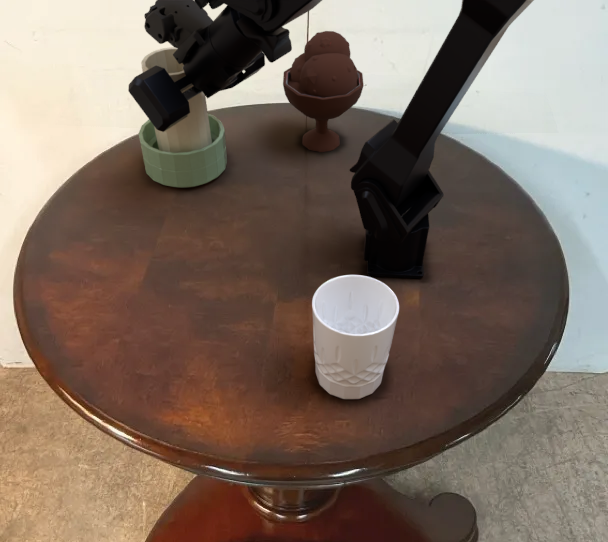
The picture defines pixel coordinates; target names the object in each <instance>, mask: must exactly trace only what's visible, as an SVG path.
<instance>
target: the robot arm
mask: <svg viewBox="0 0 608 542" xmlns="http://www.w3.org/2000/svg"><path fill="white" fill-rule="evenodd" d="M534 1H535V0H461V5H460V11H459V13H458V16H457V17H456V19H455V21H454V22H453V24H452V26H451V28H450V30H449V32H448V34H447V36H446V37H445V39H444V41H443V43H442V44H441V46H440V48H439V49H438V51H437V53H436V55H435V57H434V58H433V60H432V62H431V64H430V66H429V67H428V69H427V71H426V73H425V74H424V76H423V78H422V80H421V82H420V83H419V85H418V87H417V89H416V91H415V92H414V94H413V96H412V98H411V99H410V101H409V103H408V104H407V107H405V110H404V112H403V113H402V115H401V117H400V119H399V120H398V121H396V119H391V120H390V121H389V122H388V123H387V124H386V125H385V126H383V127H382V128H381V129H380V130H379V131H377V132H376V133H374V134H373V136H371V137H370V138H369V139H368V140H366V141H365V143H364V144H363V146H362V148H361V149H360V153H359V157H358V159H357V162H356V163H355V164H354V165H352V166H351V167H350V168H349V172H350V173H354V174H353V175H352V177H351V180H350V189H351V190H352V191H353V195H354V197H355V199H356V204H357V207H358V211H359V215H360V219H361V223H362V228H363V229H364V242H363V260H364V262H367V263H366V266H367V267H366V268H367V269H366V271H367V272H366V274H367V275H368V276H369V277H371V276H372V277H388V278H389V277H390V278H405V279H406V278H407V279H409V278H410V279H422V278H424V277H425V266H424V265H425V264H424V259H425V254H426V248H427V242H428V236H429V232H430V219H429V214H430V212H431V211H432V210H433V209H435V208H436V207H437V206H438V205H439V203H440V201H441V200H442V199H443V197H444V192H443V190H442V189H441V186H440V185H439V184H438V182H437V181H436V179H435V178H434V176H433V175H432V173H431V171H430V168H431V165H432V162H433V160H434V157H435V148H436V147H435V146H436V141H437V139H438V138H439V136H440V134H441V133H442V131H443V130H444V128H445V127H446V125H447V123H448V122H449V120H450V119H451V117H452V116H453V114H454V112H455V111H456V109H458V106H459V104H460V103H461V102H462V101H463V99H464V97H465V96H466V94H467V92H468V90H469V89H470V87H472V85H473V83H474V82H475V80H476V78H477V77H478V75H479V73H480V72H481V70H482V69H483V67H484V66H485V64H486V63H487V61H488V59H489V58H490V56H491V55H492V53H493V52H494V50H495V49H496V47H497V46H498V44H499V42H500V41H501V40H502V38H503V36H504V34H505V33H506V32H507V30H508V28H509V27H510V26H511V25H512V24H513V23H514V21H515V20H516V19H518V17H520V15H521V14H522V13H523V12H524V11H525V10H526V9H527V8H528V7H529V6H530V5H531V4H532V3H534ZM321 2H323V0H155V3H154V4H152V5H151V6H149V10H148V11H147V12H146V13H144V25H143V27H144V30H145V33H147V34H148V35H149V36H150V37H151V38H152V39H154V40H155V41H156V42H157V43H158V44H160V45H162V44H165V43H169V44H170V45H171V47H175V48H178V49H177V50H176V51H175V52H174V54H173V56H174V57H175V59H176V60H177V62H178V63H179V64H181V63H183V67H182V68H183V70H184V72H185V75H186V76H185V77H183V78H181V79H179V80H178V81H176V82H174V81H173V79H172V78H171V77H170V75H169V74H168V72H167V71H166V70H165V68H162V67H159V66H157V65H156V66H154V67H152V68H150V69H149V70H147V71H145V72H143V71H142V72H141V73H139V74H138V75H136V76H134V77H133V79H131V81H130V83H129V84H128V89H127V90H128V92H129V94H130V96H131V97H132V98H133V99H134V101H135V102H136V103H137V105H138V106H139V108H140V110H142V112H143V113H144V114H145V116H146V117H147V119H148V120H150V121H151V122H152V124H153V125H154V126H155V128H156V129H157V130H159V131H162V132H164V131H166V130H167V129H169V128H170V127H172V126H174V125H175V124H177V123H178V122H180V121H181V120H183V119H184V118H186V117H187V115H188V114H189V113H190V108H189V102H188V100H190V99H191V98H193V97H194V96H196V95H198V94H199V93H201V92H203V93H204V94H205V97H206V100H207V99H210V98H211V97H213V96H214V95H216V94H218V93H219V92H221V91H222V92H223V91H226V90H229V89H233V88H234V87H236V86H238V85H240V84H241V83H243V82H244V81H246V80H247V79H249V78H252V76H254V75H255V74H257V73H258V72H259V71H261V69H262V68H264V67H265V66H266V59H267V61H268V62H269V63H271V64H273V63H274V62H276V61H277V60H279V59H281V58H283V57H285V56H286V55H287V54H290V52H292V49H293V47H292V46H293V45H292V40H291V39H290V29H288V28H285V27H284V26H286V25H287V24H289V23H291V22H293V21H294V20H296V19H299V17H301V16H303V15H305V14H307V13H309V11H311V10H313V9H314V8H315V7H317V5H319V4H320V3H321ZM223 5H226V6H225V7H224V8H223V9H222V10H221V12H220V13H219V14H218V15H217V16H216V18H214V19H212V18H211V16H210V15H209V13H208V12H207V10H205V9H204V8H205V7H206V6H209V8H210V9H211V10H215V9H218V8H219V7H221V6H223ZM192 85H193V86H192ZM190 86H192V87H191V88H190V89H188V90H186V91H185V92H183V93H182V91H183V90H185V89H187V88H188V87H190Z"/></svg>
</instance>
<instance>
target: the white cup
mask: <svg viewBox="0 0 608 542" xmlns="http://www.w3.org/2000/svg"><path fill="white" fill-rule="evenodd" d="M311 311H312V341H313V355H314V362H315V364H314V365H315V375H316V378H317V381H318V384H319V386H320V387H321V388H322V389H323V390H324V391H326V392H327V393H328V394H329V395H331V396H334V397H337V398H339V399H342V400H360V399H362V398H365V397H367V396H370V395H372V394H373V393H374V392H375V391H376V390H377V389H378V388H379V387H380V385H382V381H383V376H384V371H385V368H386V365H387V363H388V359H389V357H390V352H391V348H392V344H393V340H394V335H395V330H396V326H397V322H398V317H399V312H400V302H399V299H398V297H397V295H396V293H395V292H394V291H393V290H392V289H391V288H390V286H388V285H387V284H386V283H384V282H383V281H381V280H379V279H376V278H374V277H371V276H369V275H368V276H367V275H361V274H345V275H339V276H335V277H332V278H330V279H328V280H327V281H325V282H323V283H322V284H321V285H319V287H317V289H316V290H315V292H314V294H313V296H312V300H311Z"/></svg>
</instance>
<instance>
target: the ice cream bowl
mask: <svg viewBox="0 0 608 542" xmlns="http://www.w3.org/2000/svg"><path fill="white" fill-rule="evenodd" d="M363 75H364V74H363V72H361V71H360V70H358V68H357V67H356V65H355V62H354V61H353V59H352V58H351V49H350V42H349V41H347V39H346V37H344V36H343V35H342V34H341V33H339V32H337V31H334V30H333V31H332V30H324V31H319V32H316V33H315V34H314V35H313V36H312V37H311V38H310V39H309V40H308V41H306V43H305V44H304V51H303V53H301V54H300V55H298V56H297V57H295V58H294V61H292V64H291V67H289V68H288V69H285V70H284V71H283V76H282V86H283V91H284V95H285V97H286V99H287V101H288V103H289V104H290V105H291V106H293V107H294V108H295V109H296V110H297V111H298V112H300V113H302V114H303V115H304V116H305V117H306V118H307V117H308V118H309V119H312V120H315V128H312V129H309V130H308V131H306V132H305V133H304V134H303V135H302V146H304V147H305V148H306V149H308V150H309V151H312V152H319V153H324V152H330V151H331V152H332V151H333V150H335V149H337V148H338V147H339V146H340V145H341V143H340V136H339V134H338V133H336V132H335V131H334V130H333V129H329V128H328V127H329V126H328V125H329V124H328V122H329V120H333V119H337V118H338V117H340V116H342V115H343V114H345V113H346V112H347V111H349V110H350V109H351V108H352V107H353V106H355V105H356V104H357V102H358V101H359V100H360V98H361V96H362V93H363V89H364V76H363Z"/></svg>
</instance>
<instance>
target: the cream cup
mask: <svg viewBox="0 0 608 542" xmlns="http://www.w3.org/2000/svg"><path fill="white" fill-rule="evenodd" d="M177 49H178V48H175V47H173V46H171V47H162V48H159V49H156V50H152V51H151V52H149V53H147V54H146V55H144V57H143V58H142V60H141V62H140V64H141V70H142V73H143V72H145V71H147V70H149V69H150V68H152V67H154V66H156V65H157V66H159V67H162V68H165V70H166V71H167V72H168V74H169V75H170V77H171V78H172V79H173V81H174V82H176V81H178V80H179V79H181V78H183V77H185V76H186V75H185V72H184V70H183V68H182V67H183V63H181V64H179V63H178V62H177V60H176V59H175V57H174V56H173V54H174V52H175V51H176V50H177ZM192 86H193V85H192ZM192 86H190V87H188V88H187V89H185V90H183V91H182V93H183V92H185V91H186V90H188V89H190V88H191V87H192ZM188 102H189V108H190V113H189V114H188V115H187V117H186V118H184V119H183V120H181V121H180V122H178V123H177V124H175V125H174V126H172V127H170V128H169V129H167V130H166V131H164V132H162V131H159V130H157V129H156V128H155V126H154V128H155V133H156V138H157V143H158V147H159V150H160V151H165V152H172V153H181V152H191V151H195V150H199V149H202V148H204V147H206V146H208V145H210V144H212V140H211V132H210V125H209V118H208V114H209V111H208V104H207V97H206V96H205V94H204V93H203V92H201V93H199V94H198V95H196V96H194V97H193V98H191V99H190V100H188Z"/></svg>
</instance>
